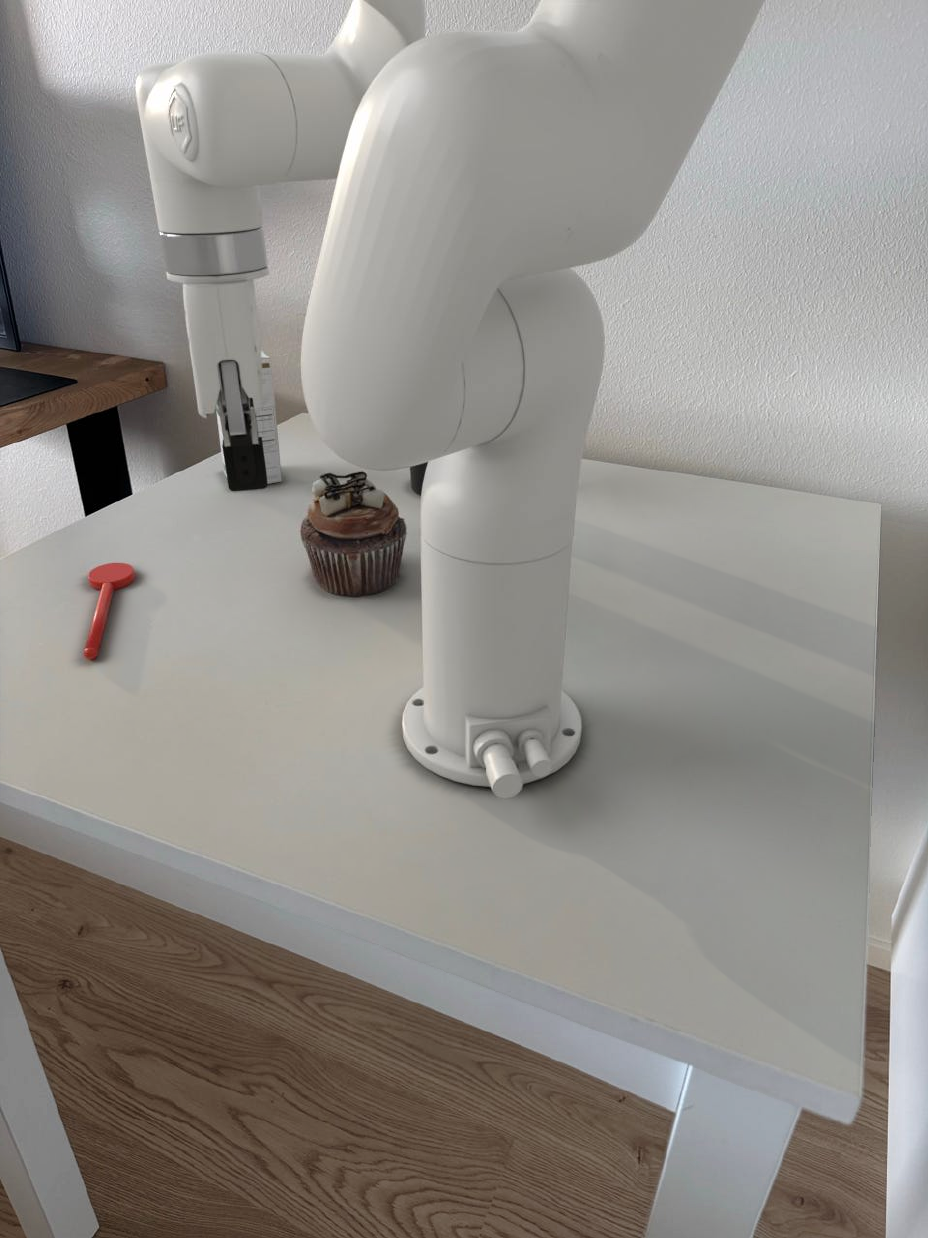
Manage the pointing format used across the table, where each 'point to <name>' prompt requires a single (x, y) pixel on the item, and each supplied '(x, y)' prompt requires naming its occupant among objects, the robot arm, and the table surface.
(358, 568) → the cupcake
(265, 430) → the syrup box
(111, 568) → the spoon
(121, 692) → the table surface
